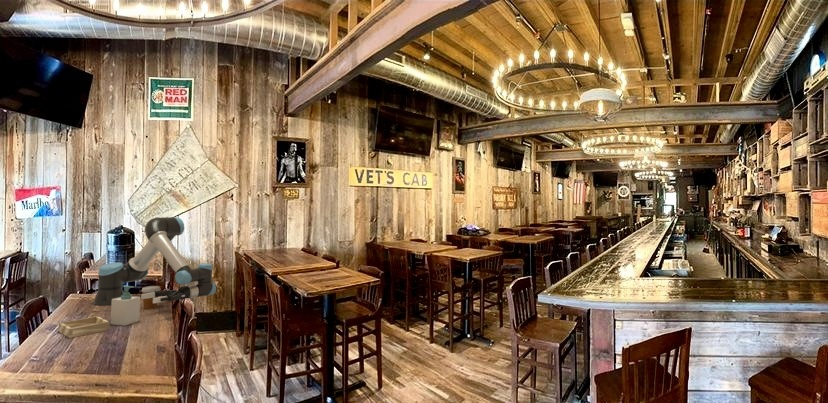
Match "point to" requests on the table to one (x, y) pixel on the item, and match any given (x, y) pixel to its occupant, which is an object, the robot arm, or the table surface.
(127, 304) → the soap bottle
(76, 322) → the caddy
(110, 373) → the table surface
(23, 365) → the table surface
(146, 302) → the disposable coffee cup
